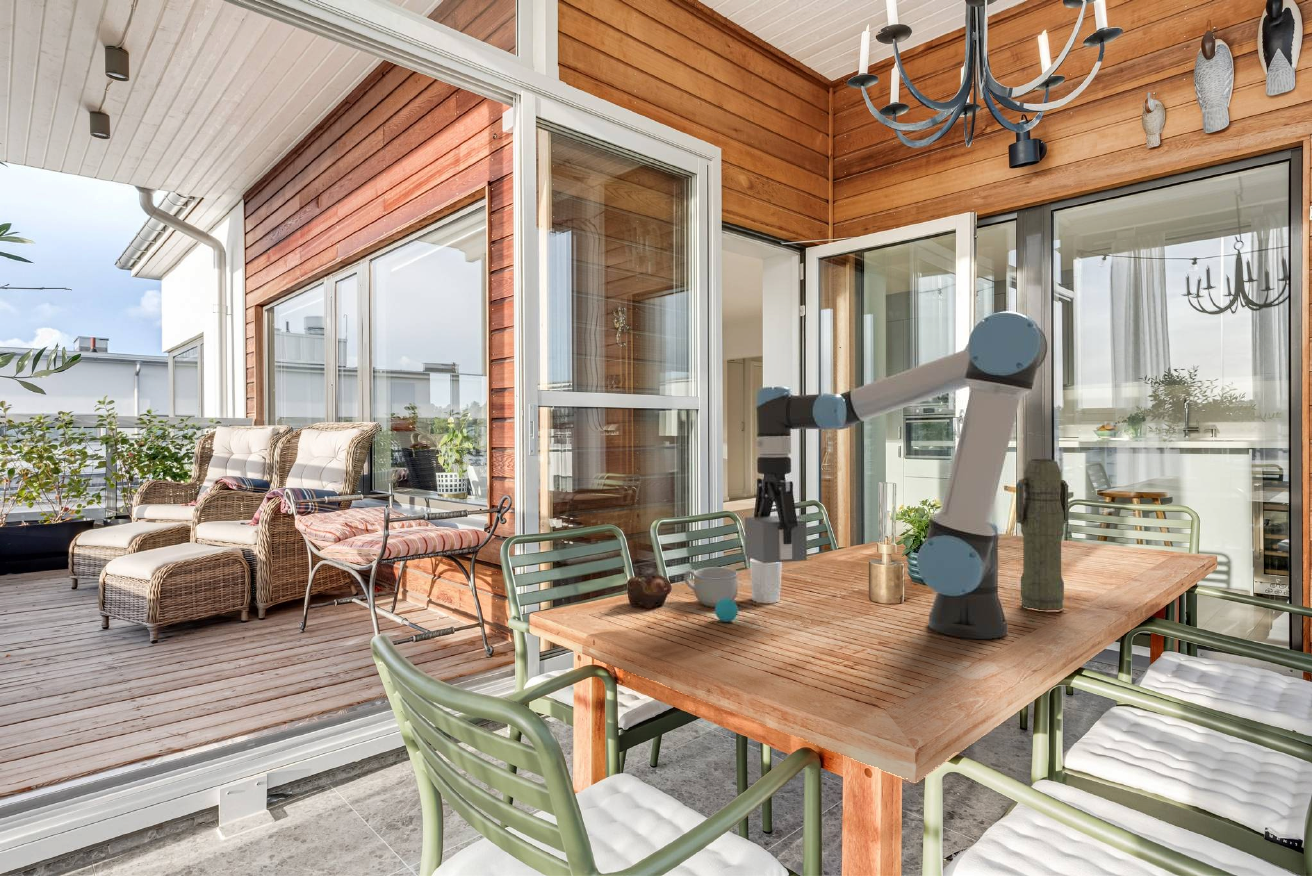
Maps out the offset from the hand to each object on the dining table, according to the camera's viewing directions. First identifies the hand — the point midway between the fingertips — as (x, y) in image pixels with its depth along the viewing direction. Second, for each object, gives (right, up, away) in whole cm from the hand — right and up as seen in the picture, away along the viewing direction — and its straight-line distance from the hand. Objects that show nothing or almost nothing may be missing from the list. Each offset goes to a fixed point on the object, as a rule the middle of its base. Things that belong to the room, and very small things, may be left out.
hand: (774, 554), depth 159 cm
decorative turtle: (-28, -14, +12) cm, 34 cm away
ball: (-11, -12, -3) cm, 16 cm away
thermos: (+64, -14, +8) cm, 66 cm away
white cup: (+1, -14, +17) cm, 22 cm away
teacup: (-13, -14, +14) cm, 24 cm away
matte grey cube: (0, -1, 0) cm, 1 cm away
